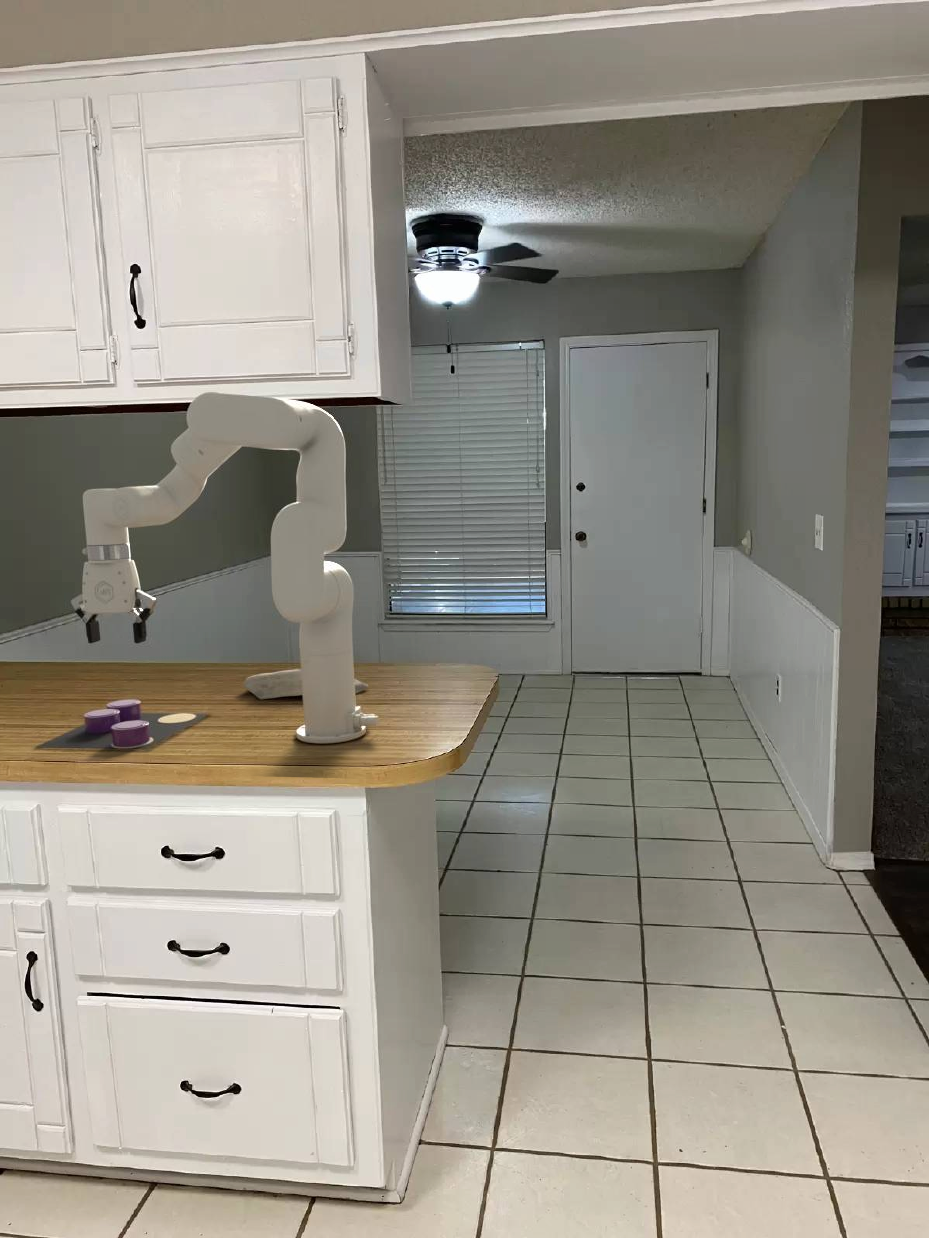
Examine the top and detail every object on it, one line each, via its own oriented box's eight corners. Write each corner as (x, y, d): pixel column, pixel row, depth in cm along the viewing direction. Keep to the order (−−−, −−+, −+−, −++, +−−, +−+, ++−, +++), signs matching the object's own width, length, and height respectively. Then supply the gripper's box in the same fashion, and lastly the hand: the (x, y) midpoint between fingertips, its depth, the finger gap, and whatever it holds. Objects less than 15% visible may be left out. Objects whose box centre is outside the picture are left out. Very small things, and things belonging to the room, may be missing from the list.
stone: (225, 679, 197) (265, 667, 211) (231, 712, 198) (270, 697, 211) (333, 668, 186) (367, 655, 200) (339, 702, 187) (373, 687, 201)
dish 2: (148, 714, 183) (146, 698, 182) (130, 723, 177) (129, 706, 176) (119, 714, 184) (117, 698, 184) (101, 722, 178) (99, 706, 177)
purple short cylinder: (156, 737, 166) (155, 719, 165) (138, 747, 159) (136, 729, 159) (125, 736, 167) (123, 719, 166) (105, 746, 161) (103, 729, 160)
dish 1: (127, 724, 176) (125, 708, 175) (108, 734, 169) (107, 717, 169) (97, 724, 177) (96, 708, 176) (78, 733, 171) (76, 716, 170)
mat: (209, 715, 182) (209, 713, 182) (146, 751, 159) (146, 748, 158) (110, 714, 186) (110, 712, 186) (35, 749, 163) (35, 746, 163)
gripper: (56, 556, 169) (65, 645, 172) (140, 555, 166) (148, 645, 169) (79, 553, 177) (87, 638, 179) (161, 551, 174) (168, 638, 176)
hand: (117, 642), depth 174 cm, fingers open, 9 cm apart
